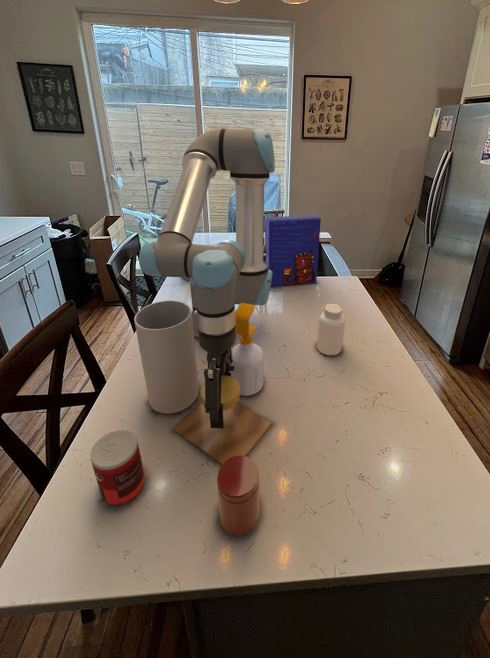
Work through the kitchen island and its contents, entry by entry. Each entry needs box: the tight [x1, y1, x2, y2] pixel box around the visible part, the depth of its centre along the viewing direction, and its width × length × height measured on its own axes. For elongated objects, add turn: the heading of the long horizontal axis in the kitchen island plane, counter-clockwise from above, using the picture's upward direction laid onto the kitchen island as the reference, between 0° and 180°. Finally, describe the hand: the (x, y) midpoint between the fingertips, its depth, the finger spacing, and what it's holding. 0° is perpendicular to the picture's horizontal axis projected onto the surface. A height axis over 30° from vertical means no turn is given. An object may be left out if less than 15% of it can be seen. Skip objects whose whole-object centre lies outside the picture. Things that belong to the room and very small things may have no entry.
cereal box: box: [265, 214, 322, 289], centre depth 141 cm, size 22×6×30 cm, turn 104°
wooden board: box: [173, 402, 272, 466], centre depth 77 cm, size 18×14×1 cm
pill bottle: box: [316, 303, 346, 356], centre depth 102 cm, size 8×8×15 cm
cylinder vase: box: [133, 299, 200, 415], centre depth 81 cm, size 12×12×25 cm
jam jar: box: [216, 456, 260, 537], centre depth 59 cm, size 7×7×11 cm
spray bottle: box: [229, 303, 265, 397], centre depth 86 cm, size 9×9×25 cm
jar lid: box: [200, 375, 241, 411], centre depth 73 cm, size 9×9×2 cm
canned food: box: [90, 429, 146, 506], centre depth 63 cm, size 8×8×11 cm
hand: (221, 409), depth 75 cm, fingers closed on jar lid, 8 cm apart
